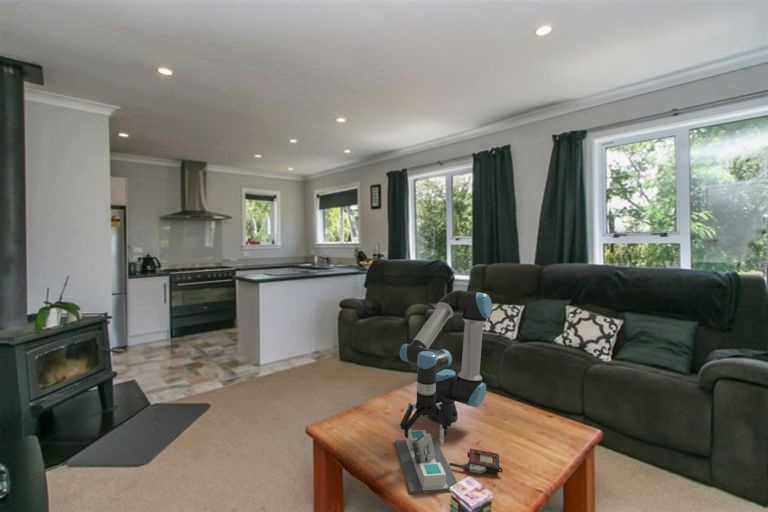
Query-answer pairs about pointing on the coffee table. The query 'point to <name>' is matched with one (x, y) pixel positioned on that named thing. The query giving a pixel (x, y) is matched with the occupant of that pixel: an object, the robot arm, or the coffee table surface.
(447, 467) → the rail board
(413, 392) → the coffee table surface
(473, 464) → the walkie-talkie
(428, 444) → the electrical switch
